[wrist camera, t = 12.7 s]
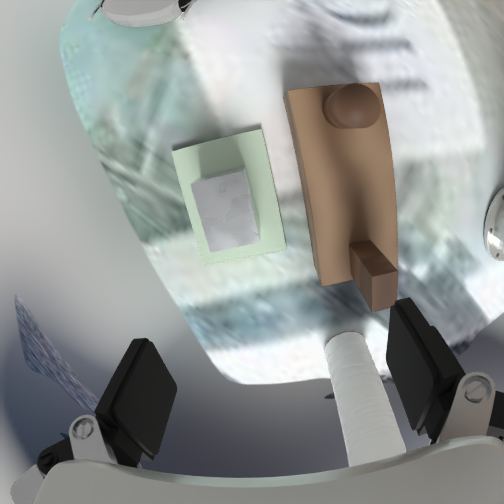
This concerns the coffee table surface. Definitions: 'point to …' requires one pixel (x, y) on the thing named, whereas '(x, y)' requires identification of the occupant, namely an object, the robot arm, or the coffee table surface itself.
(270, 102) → the coffee table surface
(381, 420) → the water bottle
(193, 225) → the mat
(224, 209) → the grey rectangular block
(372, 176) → the plane body
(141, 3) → the toy panda
